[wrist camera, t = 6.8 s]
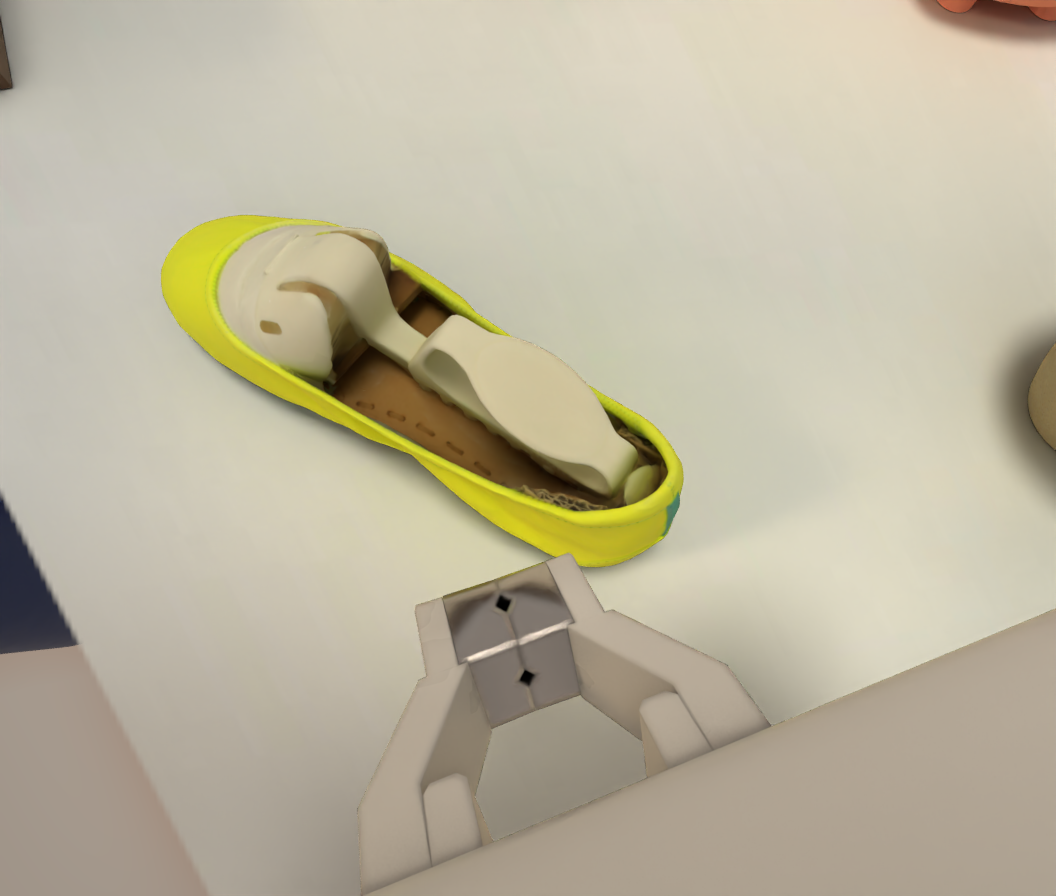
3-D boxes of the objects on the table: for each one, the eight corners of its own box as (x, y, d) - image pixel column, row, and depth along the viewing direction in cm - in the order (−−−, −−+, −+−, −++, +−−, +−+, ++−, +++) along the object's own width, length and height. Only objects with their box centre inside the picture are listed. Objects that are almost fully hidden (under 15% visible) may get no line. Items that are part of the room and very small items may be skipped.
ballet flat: (258, 188, 29) (177, 35, 21) (693, 458, 27) (780, 399, 20) (141, 316, 27) (4, 197, 19) (604, 615, 25) (661, 619, 18)
